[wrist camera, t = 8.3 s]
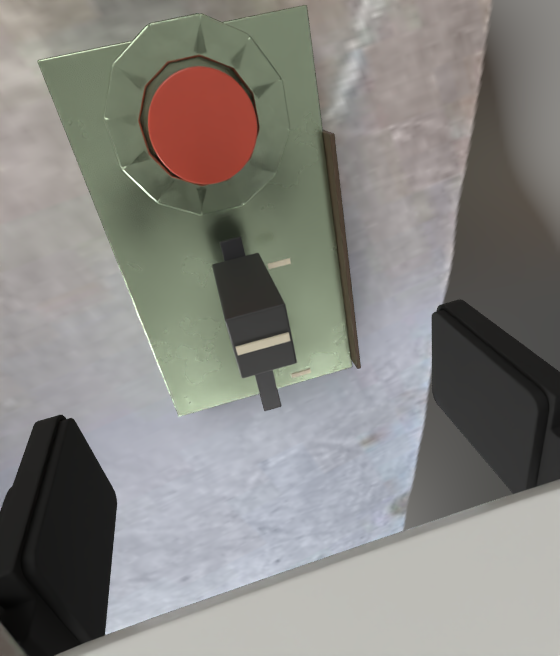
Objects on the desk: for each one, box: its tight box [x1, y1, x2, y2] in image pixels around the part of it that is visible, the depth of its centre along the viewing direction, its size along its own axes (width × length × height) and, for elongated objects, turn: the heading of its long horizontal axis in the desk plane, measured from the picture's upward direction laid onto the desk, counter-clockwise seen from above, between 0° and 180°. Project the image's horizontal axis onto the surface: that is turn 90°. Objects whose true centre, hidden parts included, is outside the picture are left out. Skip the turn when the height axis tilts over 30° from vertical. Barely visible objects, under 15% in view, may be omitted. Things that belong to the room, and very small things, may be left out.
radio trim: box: [220, 130, 361, 411], centre depth 22 cm, size 6×12×4 cm, turn 10°
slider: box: [212, 253, 297, 378], centre depth 17 cm, size 2×2×5 cm
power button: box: [148, 66, 257, 184], centre depth 16 cm, size 4×4×2 cm
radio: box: [38, 5, 352, 416], centre depth 21 cm, size 10×17×5 cm, turn 11°
